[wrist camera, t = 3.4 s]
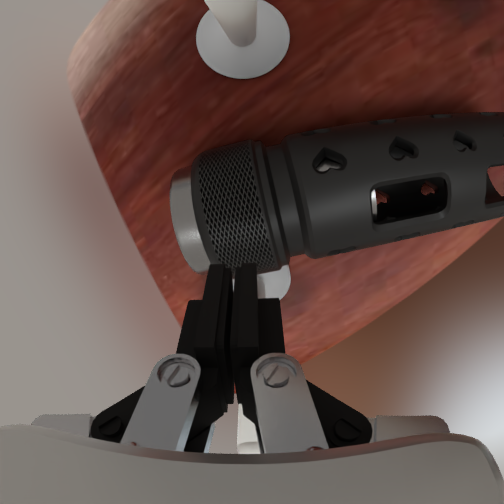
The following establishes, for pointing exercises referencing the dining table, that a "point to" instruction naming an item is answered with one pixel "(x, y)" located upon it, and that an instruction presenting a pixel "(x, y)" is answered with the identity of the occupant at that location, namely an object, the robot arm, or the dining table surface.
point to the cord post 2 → (267, 288)
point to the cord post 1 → (242, 37)
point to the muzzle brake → (336, 189)
